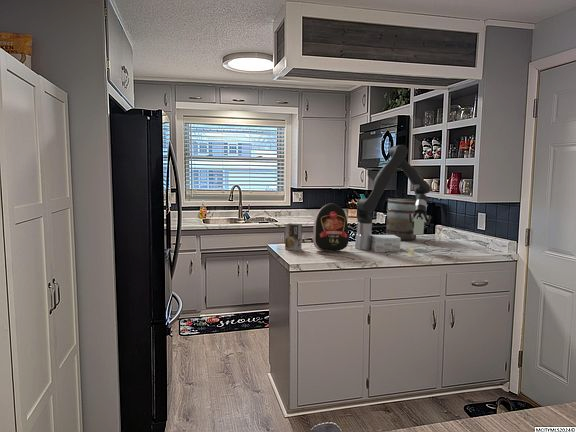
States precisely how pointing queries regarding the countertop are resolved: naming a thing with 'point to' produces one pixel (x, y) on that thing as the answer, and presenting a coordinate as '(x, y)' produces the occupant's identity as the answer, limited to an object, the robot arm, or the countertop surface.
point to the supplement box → (385, 243)
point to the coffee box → (293, 236)
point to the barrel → (400, 218)
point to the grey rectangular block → (418, 226)
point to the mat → (420, 251)
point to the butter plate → (411, 253)
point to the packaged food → (330, 228)
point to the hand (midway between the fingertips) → (418, 227)
